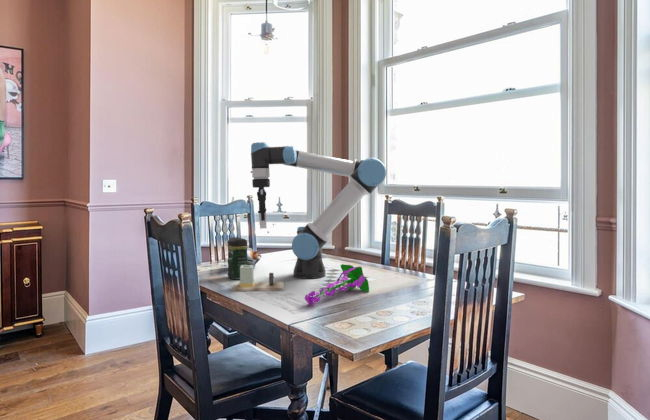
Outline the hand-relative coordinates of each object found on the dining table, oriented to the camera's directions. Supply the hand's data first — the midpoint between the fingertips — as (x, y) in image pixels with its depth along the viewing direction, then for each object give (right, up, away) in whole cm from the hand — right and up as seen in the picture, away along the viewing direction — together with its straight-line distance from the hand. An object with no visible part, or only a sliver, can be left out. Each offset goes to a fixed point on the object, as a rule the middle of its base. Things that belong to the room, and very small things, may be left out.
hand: (262, 226), depth 186 cm
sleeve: (-5, -24, -11) cm, 27 cm away
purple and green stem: (+33, -27, -23) cm, 48 cm away
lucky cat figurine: (-13, -23, +27) cm, 38 cm away
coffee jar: (-13, -24, +8) cm, 28 cm away
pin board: (0, -25, -10) cm, 27 cm away
